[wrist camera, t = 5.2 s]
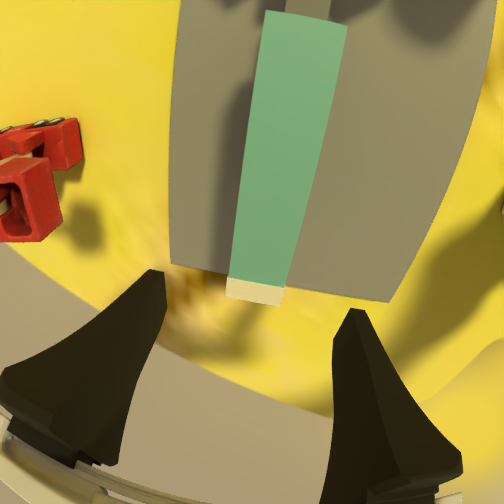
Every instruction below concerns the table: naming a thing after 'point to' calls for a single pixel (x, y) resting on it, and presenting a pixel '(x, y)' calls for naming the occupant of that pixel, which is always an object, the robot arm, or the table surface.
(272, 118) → the bar
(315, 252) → the board
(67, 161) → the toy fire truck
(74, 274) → the table surface
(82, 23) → the table surface
